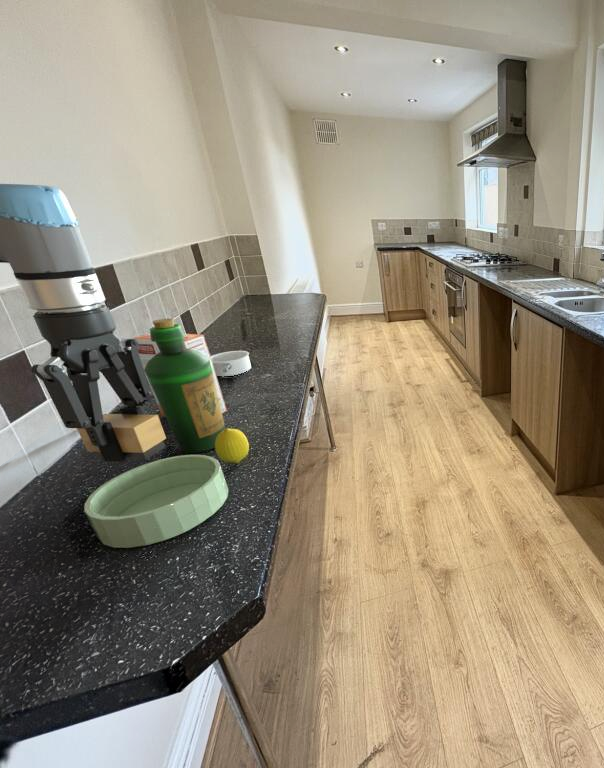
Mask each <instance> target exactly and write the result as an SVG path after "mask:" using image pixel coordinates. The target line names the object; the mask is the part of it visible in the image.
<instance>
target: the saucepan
mask: <svg viewBox="0 0 604 768" xmlns="http://www.w3.org/2000/svg"><path fill="white" fill-rule="evenodd" d="M249 355H250V352H249V351H247V350H232V351H231V350H230V351H224V352H219V353H215V354H213V355H210V357H211V360H212V364H213V367H214V370H215V373H216V376H217V377H218V376H222V377H221V378H225V377H224V376H234V375H238V374H241V373H244V372H246V371H247V372H248V371H249V370H251V369H252V365H251V360H250V356H249ZM247 372H246V373H247ZM244 374H245V373H244ZM238 376H239V375H238ZM234 377H235V376H234Z"/></svg>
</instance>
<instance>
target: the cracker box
mask: <svg viewBox="0 0 604 768" xmlns="http://www.w3.org/2000/svg"><path fill="white" fill-rule="evenodd" d="M185 335H186V336H185V337H184V338H183V340H184V345H185V348H189V349H192V350H195V351H198V352H200V353H201V354H203V355H204V356H205V357H207V358H208V359H209V360H210V364H211V368H212V372H213V377H214V381H215V385H216V390H217V394H218V398H219V403H220V407H221V411H222V415H223V414H225V413H227V412H228V408H227V405H226V403H225V399H224V396H223V393H222V390H221V387H220V383H219V380H218V376H216V373H215V370H214V367H213V364H212V360H211V357H210V356H211V354H210V351H209V348H208V344H207V341H206V338H205V335H204V334H197V333H196V334H195V333H185ZM132 339H136V340H138V353H139V356H140V359H141V362H142V365H143V368H144V369H145V367H146V365H147V362H148V361H149V360H150V359H152V358H153V357H154V356H155V355H156V354H158V353H159V352H160V350H159V348H158V346H157V344H156V342H152V341H151V335H150V332H149V333H146V334H141V335H138V336H135V337H133V338H132ZM145 374H146V373H145ZM146 377H147V375H146ZM147 379H148V377H147ZM148 382H149V380H148ZM149 385H150V388H151V391H152V396H153V397H154V400H155V402H156V405H157V408H158V410H159V413H160V415H161V417H162V418H166V417H165V414H164V412H163V410H162V408H161V406H160V403H159V401H158V399H157V397H156V395H155V393H154V390H153V388H152V386H151V384H150V382H149Z"/></svg>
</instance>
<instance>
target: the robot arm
mask: <svg viewBox="0 0 604 768" xmlns="http://www.w3.org/2000/svg"><path fill="white" fill-rule="evenodd" d="M87 248H88V247H87V246H86V243H85V240H84V238H83V235H82V232H81V228H80V226H79V220H78V219H77V217H76V216H75V213H74V211H73V209H72V207H71V205H70V203H69V201H68V198H67V197H66V195H65V193H64V192H63V191H62V190H60V189H59V188H57V187H54V186H51V185H41V184H20V183H18V184H17V183H0V264H2V263H3V264H9V266H10V267H11V269H12V273H13V276H14V277H15V279H16V282H17V284H18V286H19V288H20V291H21V293H22V295H23V298H24V300H25V302H26V305H27V307H28V308H29V309H31V310H35V313H34V315H32V316H33V319H34V321H35V324H36V326H37V329H38V330H39V333H40V335H41V337H42V338H43V339H44V340H45V341H47V343H48V344H49V345H50V358H48V359H47V360H45V362H43V364H33V365H32V366H31V368H30V370H31V373H33V374H34V375H35V376H37V378H38V379H39V380H40V381H42V383H43V385H44V387H45V389H46V391H47V393H48V395H49V397H50V399H51V401H52V403H53V405H54V407H55V409H56V411H57V413H58V415H59V417H60V419H61V421H62V423H63V425H64V427H65V428H67V429H77V428H84V429H85V430H86V432H87V434H88V436H89V439H90V440H91V443H92V444H93V445H94V446H98V447H99V450H100V452H101V454H102V456H103V459H102V460H103V461H104V462H115V463H116V462H117V463H122V462H124V461H126V460H127V459H126V458H125V455H124V453H123V451H122V449H121V446H120V444H119V442H118V439H117V437H116V434H115V432H114V430H113V427H112V424H111V422H104V420H103V414H104V413H103V409H102V402H101V396H100V391H99V390H100V389H99V384H98V381H99V380H100V378H101V375H100V373H101V374H102V376H103V377H104V379H105V381H107V383H108V384H109V386H110V387H111V389H112V390H113V391H114V393H115V394H116V396H117V397H118V398H119V400H120V401H121V403H122V404H123V407H121V408H120V409H119V410H120V414H139V415H147V413H146V410H145V407H147V406H148V405H149V404H150V401H149V399H148V398H151V397H152V396H153V392H152V389H151V387H150V384H149V382H148V379H147V376H146V374H145V371H144V368H143V365H142V362H141V359H140V356H139V353H138V340H136V339H133V338H119V337H118V336H117V334H115V332H114V331H116V329H117V326H116V323H115V320H114V317H113V315H112V312H111V309H110V307H108V306H107V305H105V304H103V303H104V302H105V301H106V297H105V294H104V291H103V288H102V286H101V283H100V280H99V278H98V276H97V273H96V270H95V268H94V265H93V262H92V260H91V256H90V255H89V251H88V249H87ZM64 367H65V368H64Z"/></svg>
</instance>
